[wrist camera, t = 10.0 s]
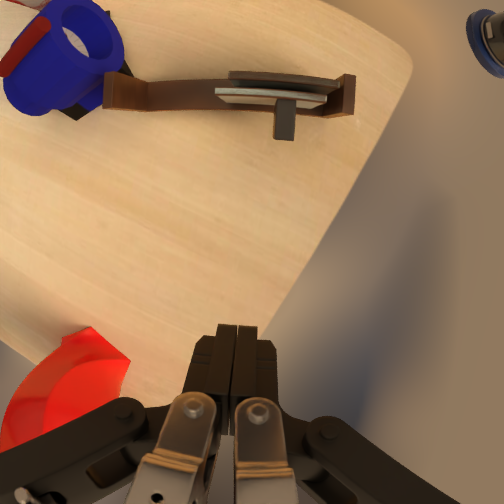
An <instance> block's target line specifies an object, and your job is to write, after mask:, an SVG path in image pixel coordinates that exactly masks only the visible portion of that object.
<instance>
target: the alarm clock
mask: <svg viewBox="0 0 504 504" xmlns="http://www.w3.org/2000/svg"><path fill="white" fill-rule="evenodd" d="M111 71H115V72H118V73H122V74H125V75H128V76H131V77H134V76H133V74H132V73H131V71H130V69H129V67H128V65H127V63H126V62H125V60H124V47H123V43H122V39H121V36H120V34H119V32H118V30H117V27H116V26H115V24H114V23H113V21H112V20H111V18H110V11H106V12H105V11H104V10H103V9H102V8H101V7H100V6H99V5H97V4H96V3H94V2H93V1H92V0H51V1H50V2H49V3H48V4H47V5H46V6H45V7H44V8H43V9H42V10H41V11H40V12H39V13H38V14H37V15H36V16H35V18H34V19H33V20H32V21H31V22H30V23H29V24H28V25H27V26H26V27H25V29H24V30H23V31H22V32H21V33H20V34H19V36H18V37H17V38H16V39H15V40H14V42H13V43H12V45H11V47H10V49H9V50H8V52H7V53H6V54H5V56H4V57H3V58H2V60H1V61H0V77H4V78H3V87H4V91H5V94H6V97H7V99H8V100H9V101H10V103H11V104H12V105H13V106H14V107H15V108H16V109H18V110H19V111H20V112H22V113H24V114H27V115H30V116H41V115H44V114H46V113H48V112H49V111H51V110H52V109H58V110H59V111H61V112H63V113H64V114H66V115H67V116H69V117H71V118H72V119H74V120H76V121H77V120H78V119H80V118H81V117H83V116H84V115H86V114H87V113H89V112H90V111H92V110H93V109H95V108H96V107H98V106H100V105H101V104H103V87H104V73H105V72H111Z"/></svg>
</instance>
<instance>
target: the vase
mask: <svg viewBox="0 0 504 504" xmlns="http://www.w3.org/2000/svg"><path fill="white" fill-rule="evenodd" d="M130 362H131V361H130V360H129V359H128V358H127V357H126V356H124V355H123V354H122V353H121V352H119V351H118V350H117V349H116V348H115V347H113V346H112V345H111V344H110V343H109V342H108V341H106V340H105V339H104V338H103V337H102V336H101V335H100V334H99V333H97V332H96V331H95V330H94V329H93V328H92V327H88V328H86V329H83V330H81V331H78V332H76V333H73V334H70V335H68V336H65V337H62V342H61V346H60V347H59V348H57V349H56V350H55V351H53V352H52V353H51V354H50V355H49V356H47V357H46V358H45V359H44V360H43V361H42V362H40V363H39V364H38V365H37V366H36V367H35V368H34V369H33V370H32V371H31V372H30V373H29V374H28V376H27V377H26V378H25V379H24V380H23V382H22V383H21V384H20V386H19V387H18V388H17V390H16V391H15V393H14V395H13V397H12V399H11V400H10V402H9V405H8V407H7V409H6V412H5V415H4V419H3V422H2V427H1V433H0V453H1V452H4V451H6V450H9V449H11V448H13V447H16V446H18V445H20V444H22V443H25V442H27V441H29V440H31V439H34V438H36V437H38V436H40V435H42V434H45V433H47V432H49V431H51V430H53V429H55V428H57V427H60V426H62V425H64V424H66V423H68V422H70V421H72V420H74V419H76V418H78V417H80V416H82V415H84V414H86V413H88V412H90V411H92V410H94V409H96V408H98V407H100V406H102V405H104V404H106V403H108V402H110V401H111V400H114V399H116V398H119V395H120V391H121V385H122V382H123V379H124V377H125V374H126V372H127V369H128V367H129V364H130Z"/></svg>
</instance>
